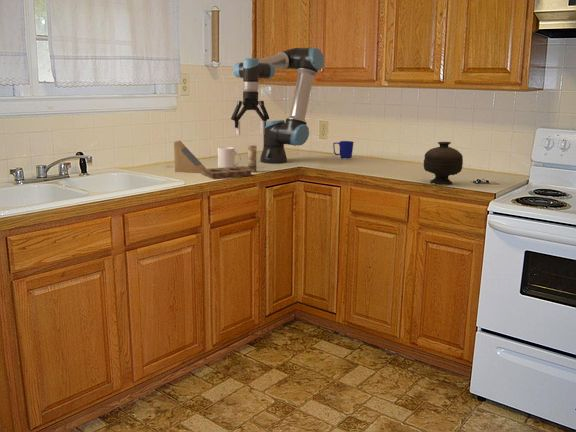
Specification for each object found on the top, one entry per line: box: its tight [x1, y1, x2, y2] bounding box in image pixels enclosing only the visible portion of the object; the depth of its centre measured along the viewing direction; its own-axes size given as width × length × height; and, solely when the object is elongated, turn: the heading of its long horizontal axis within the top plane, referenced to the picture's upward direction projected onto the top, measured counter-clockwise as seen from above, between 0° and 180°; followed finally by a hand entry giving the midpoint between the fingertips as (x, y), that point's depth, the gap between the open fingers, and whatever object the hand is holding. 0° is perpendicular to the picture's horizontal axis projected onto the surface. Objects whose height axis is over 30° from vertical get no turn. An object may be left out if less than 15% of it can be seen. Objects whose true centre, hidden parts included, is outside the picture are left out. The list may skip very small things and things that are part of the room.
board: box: [200, 166, 252, 180], centre depth 278 cm, size 20×14×2 cm
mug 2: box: [332, 140, 354, 159], centre depth 345 cm, size 8×12×10 cm
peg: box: [247, 145, 257, 173], centre depth 289 cm, size 4×4×13 cm
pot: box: [423, 141, 464, 185], centre depth 268 cm, size 18×18×20 cm
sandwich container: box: [173, 140, 207, 174], centre depth 285 cm, size 9×15×15 cm, turn 80°
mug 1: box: [217, 146, 242, 168], centre depth 297 cm, size 9×12×11 cm
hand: (250, 134), depth 286 cm, fingers open, 13 cm apart
